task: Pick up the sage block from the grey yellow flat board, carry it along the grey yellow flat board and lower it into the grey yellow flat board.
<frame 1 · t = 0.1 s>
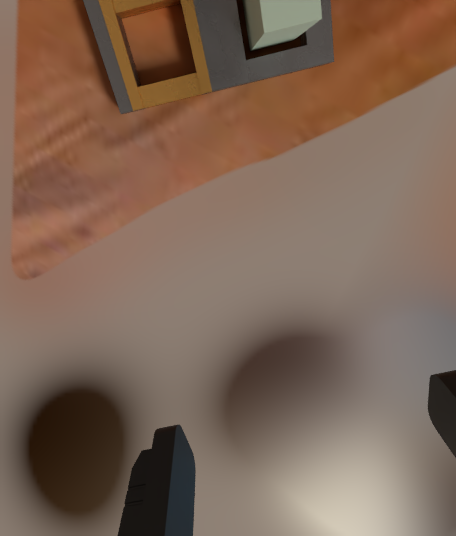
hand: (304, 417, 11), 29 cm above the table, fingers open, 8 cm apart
grey yellow flat board: (213, 33, 30), on the table
sage block: (267, 20, 30), resting in grey yellow flat board
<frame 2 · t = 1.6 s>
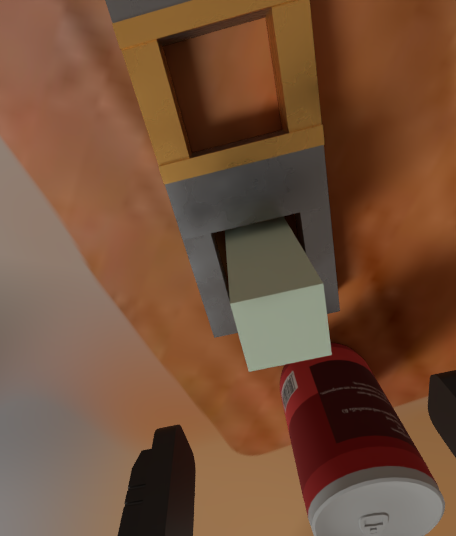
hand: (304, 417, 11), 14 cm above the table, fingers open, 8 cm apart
canned food: (321, 374, 29), on the table
grey yellow flat board: (244, 178, 20), on the table
sage block: (259, 249, 23), resting in grey yellow flat board
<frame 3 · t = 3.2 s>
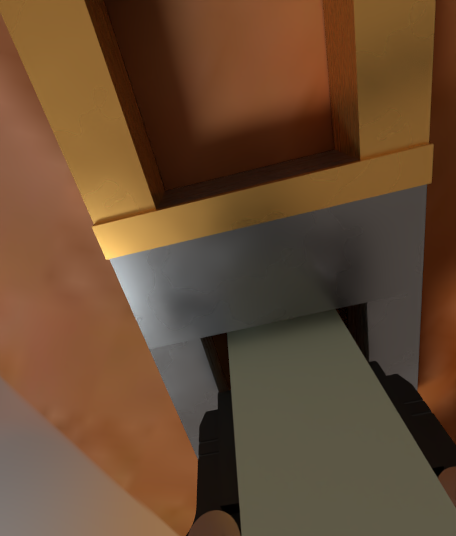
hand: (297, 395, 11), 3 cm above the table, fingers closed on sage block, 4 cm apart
grey yellow flat board: (261, 235, 11), on the table
sage block: (283, 344, 14), resting in grey yellow flat board, touching gripper
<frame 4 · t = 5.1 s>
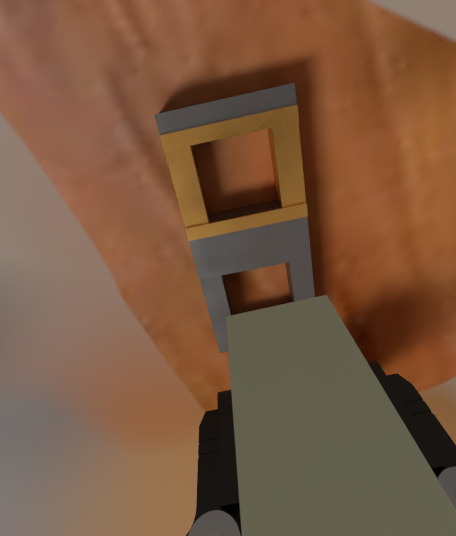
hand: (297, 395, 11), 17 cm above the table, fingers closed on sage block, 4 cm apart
grey yellow flat board: (247, 233, 27), on the table
sage block: (283, 344, 14), point 14 cm above the table, touching gripper
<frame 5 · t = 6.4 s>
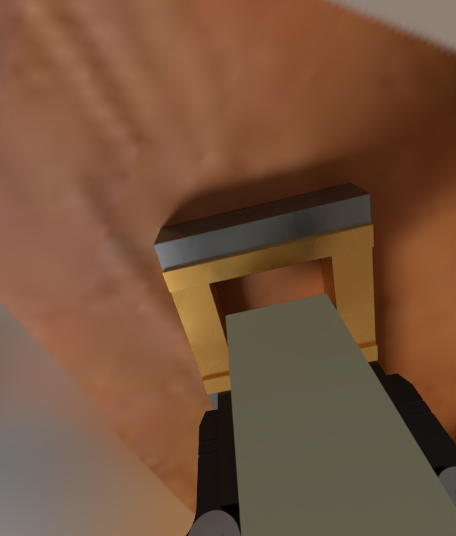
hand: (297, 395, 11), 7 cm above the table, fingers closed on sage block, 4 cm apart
grey yellow flat board: (286, 365, 20), on the table
sage block: (283, 343, 14), point 4 cm above the table, touching gripper
when the fingers open (4 cm above the table, at t = 7.3 s): sage block drops 1 cm, resting in grey yellow flat board.
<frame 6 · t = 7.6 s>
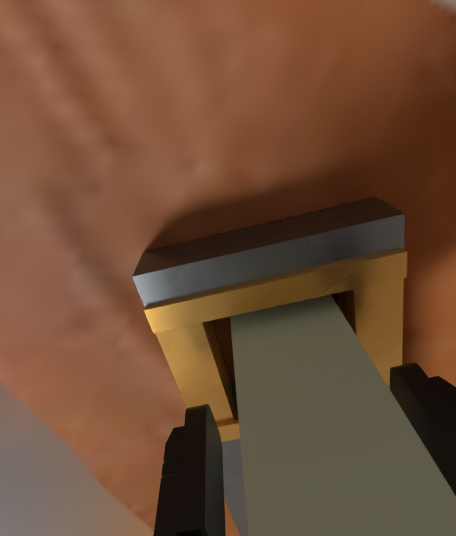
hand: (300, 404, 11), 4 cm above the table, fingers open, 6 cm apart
grey yellow flat board: (293, 404, 17), on the table
sage block: (281, 328, 15), resting in grey yellow flat board
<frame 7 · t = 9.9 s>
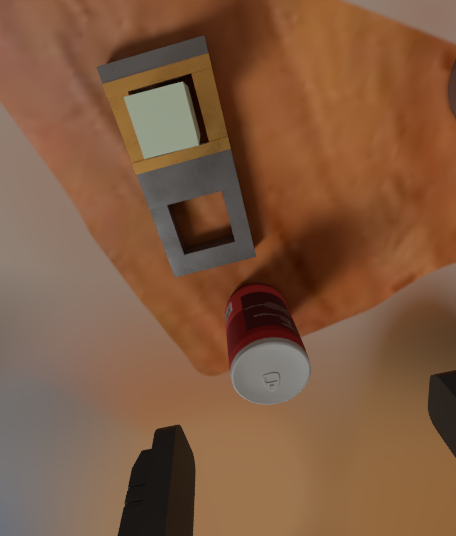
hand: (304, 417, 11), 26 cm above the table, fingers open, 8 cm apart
canned food: (254, 308, 41), on the table
grey yellow flat board: (188, 170, 32), on the table
sage block: (173, 116, 30), resting in grey yellow flat board
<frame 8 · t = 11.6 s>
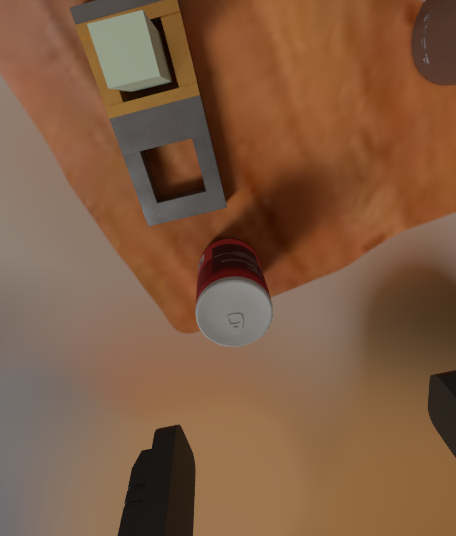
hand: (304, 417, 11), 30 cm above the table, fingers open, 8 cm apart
canned food: (228, 264, 42), on the table
grey yellow flat board: (161, 119, 34), on the table
sage block: (146, 64, 31), resting in grey yellow flat board
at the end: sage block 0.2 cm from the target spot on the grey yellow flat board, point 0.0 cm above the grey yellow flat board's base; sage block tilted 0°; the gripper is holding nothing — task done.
